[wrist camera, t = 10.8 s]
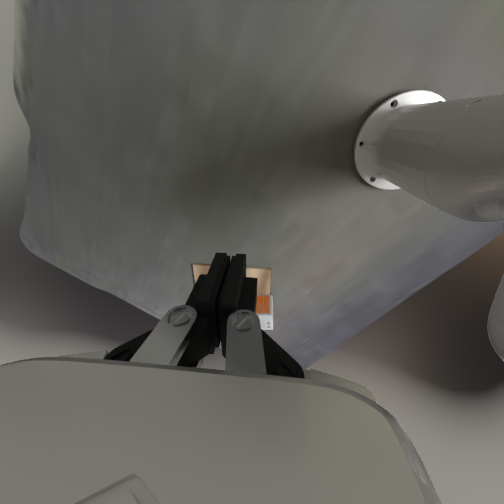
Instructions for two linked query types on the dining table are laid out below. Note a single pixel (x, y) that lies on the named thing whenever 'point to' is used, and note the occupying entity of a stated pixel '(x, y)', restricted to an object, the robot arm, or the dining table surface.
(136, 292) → the dining table surface
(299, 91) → the dining table surface
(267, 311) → the skincare box
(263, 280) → the wooden board
